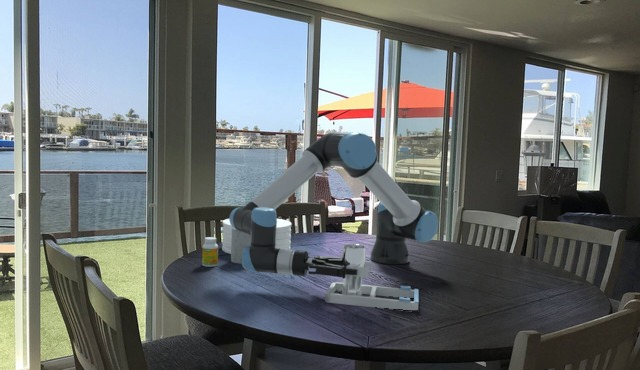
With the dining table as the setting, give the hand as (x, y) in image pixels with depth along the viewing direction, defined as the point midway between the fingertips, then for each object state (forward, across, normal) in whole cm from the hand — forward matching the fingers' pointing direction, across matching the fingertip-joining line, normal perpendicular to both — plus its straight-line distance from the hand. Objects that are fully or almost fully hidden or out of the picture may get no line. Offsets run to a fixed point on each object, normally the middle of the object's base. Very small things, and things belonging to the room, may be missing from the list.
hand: (370, 269), depth 149 cm
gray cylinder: (-49, -32, -9) cm, 60 cm away
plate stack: (-51, -53, -10) cm, 74 cm away
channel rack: (+1, 0, -9) cm, 9 cm away
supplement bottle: (-58, -21, -9) cm, 63 cm away
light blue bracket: (+12, 0, -9) cm, 15 cm away
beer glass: (-5, 0, -9) cm, 10 cm away
